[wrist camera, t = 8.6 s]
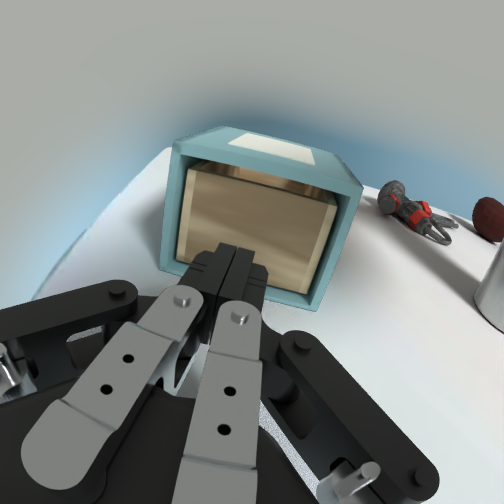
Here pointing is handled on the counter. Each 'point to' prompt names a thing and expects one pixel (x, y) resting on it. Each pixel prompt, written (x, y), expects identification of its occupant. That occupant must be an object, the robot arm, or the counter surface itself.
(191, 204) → the wooden drawer
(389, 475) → the robot arm
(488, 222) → the potato
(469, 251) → the counter surface
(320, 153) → the sleeve
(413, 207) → the valve
